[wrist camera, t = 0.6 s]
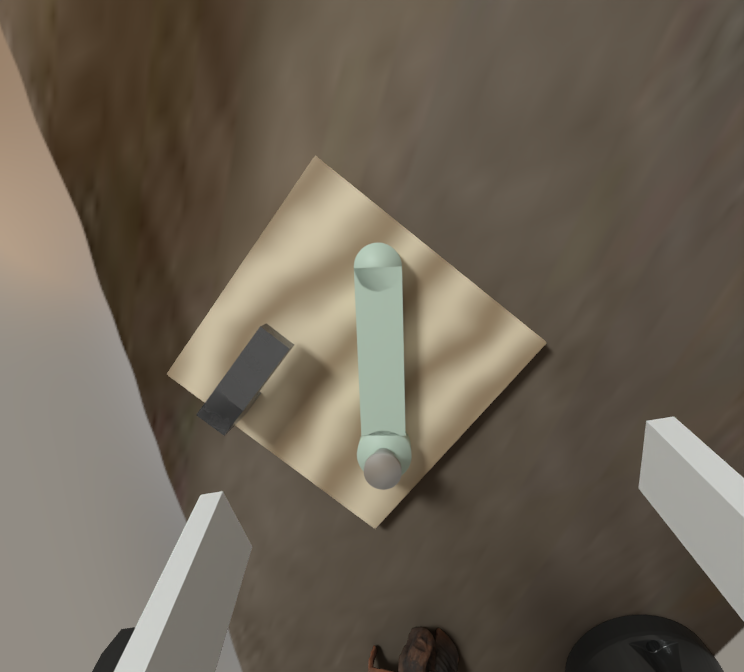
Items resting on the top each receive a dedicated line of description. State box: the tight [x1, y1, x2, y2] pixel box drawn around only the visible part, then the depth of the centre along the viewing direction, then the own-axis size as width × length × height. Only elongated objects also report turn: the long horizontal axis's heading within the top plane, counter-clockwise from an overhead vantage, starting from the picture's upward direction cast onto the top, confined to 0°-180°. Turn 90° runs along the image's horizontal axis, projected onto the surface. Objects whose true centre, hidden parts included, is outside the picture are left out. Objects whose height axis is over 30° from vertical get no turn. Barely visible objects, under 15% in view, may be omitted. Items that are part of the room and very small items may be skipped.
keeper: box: [197, 323, 294, 436], centre depth 35 cm, size 3×10×4 cm, turn 142°
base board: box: [167, 156, 547, 529], centre depth 34 cm, size 26×25×7 cm
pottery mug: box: [368, 627, 459, 672], centre depth 41 cm, size 12×10×8 cm
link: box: [354, 243, 411, 476], centre depth 35 cm, size 22×5×2 cm, turn 2°
